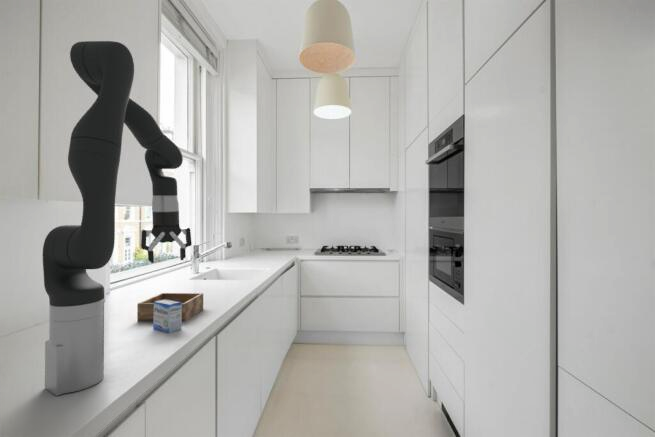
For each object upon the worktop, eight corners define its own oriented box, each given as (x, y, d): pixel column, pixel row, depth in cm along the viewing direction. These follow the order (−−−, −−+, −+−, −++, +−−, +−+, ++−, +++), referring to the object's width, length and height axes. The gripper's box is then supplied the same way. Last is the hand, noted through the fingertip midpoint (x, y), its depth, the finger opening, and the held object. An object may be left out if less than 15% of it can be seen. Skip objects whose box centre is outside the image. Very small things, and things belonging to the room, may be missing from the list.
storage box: (184, 321, 110) (184, 304, 110) (137, 321, 110) (137, 303, 111) (203, 308, 126) (203, 293, 126) (162, 308, 126) (162, 293, 127)
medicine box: (152, 329, 103) (152, 301, 103) (165, 325, 107) (165, 298, 107) (169, 333, 99) (169, 304, 99) (182, 329, 103) (182, 301, 103)
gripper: (140, 211, 96) (142, 265, 97) (192, 210, 104) (193, 260, 105) (139, 210, 102) (141, 261, 103) (187, 209, 110) (189, 257, 111)
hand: (167, 261), depth 104 cm, fingers open, 8 cm apart
